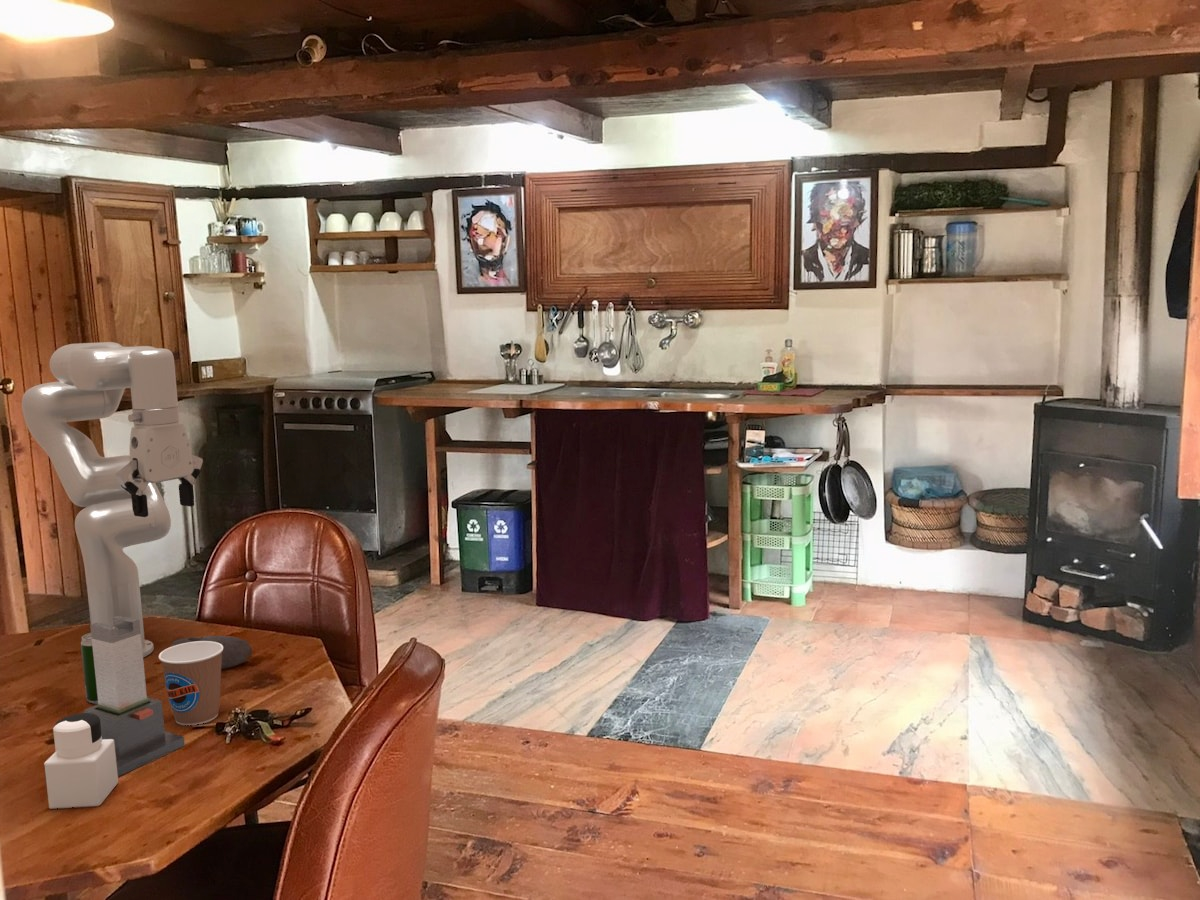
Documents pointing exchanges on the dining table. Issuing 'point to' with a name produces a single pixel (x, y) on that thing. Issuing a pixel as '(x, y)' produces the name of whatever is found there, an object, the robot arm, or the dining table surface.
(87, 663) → the beer can
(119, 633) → the jack column
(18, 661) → the dining table surface
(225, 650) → the perforated stone tool
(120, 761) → the base
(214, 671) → the coffee cup
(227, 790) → the dining table surface
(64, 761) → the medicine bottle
